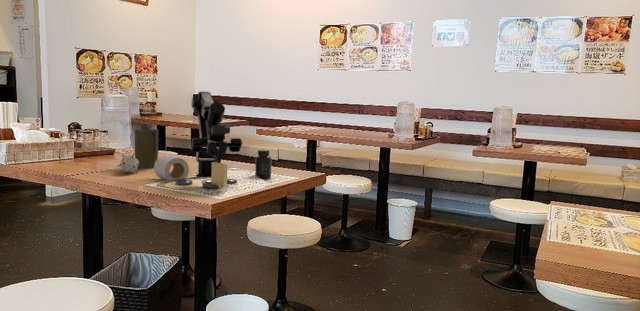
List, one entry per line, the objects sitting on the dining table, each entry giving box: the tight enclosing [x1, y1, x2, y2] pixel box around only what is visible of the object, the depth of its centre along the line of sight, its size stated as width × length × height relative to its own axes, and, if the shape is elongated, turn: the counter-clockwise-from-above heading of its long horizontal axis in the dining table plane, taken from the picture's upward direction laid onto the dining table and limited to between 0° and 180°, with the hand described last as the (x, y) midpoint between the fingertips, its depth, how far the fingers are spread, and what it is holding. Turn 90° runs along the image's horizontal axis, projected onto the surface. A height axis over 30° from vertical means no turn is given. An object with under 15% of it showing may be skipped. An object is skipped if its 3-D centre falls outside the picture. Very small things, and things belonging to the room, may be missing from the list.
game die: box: [117, 153, 141, 175], centre depth 207 cm, size 9×8×10 cm
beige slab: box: [202, 162, 228, 190], centre depth 176 cm, size 11×6×10 cm, turn 50°
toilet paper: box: [153, 154, 190, 181], centre depth 194 cm, size 10×10×10 cm
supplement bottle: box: [254, 149, 272, 180], centre depth 210 cm, size 7×7×12 cm
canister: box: [133, 122, 159, 169], centre depth 224 cm, size 11×10×20 cm
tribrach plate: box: [175, 178, 238, 186], centre depth 186 cm, size 18×20×2 cm
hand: (219, 162), depth 184 cm, fingers closed
